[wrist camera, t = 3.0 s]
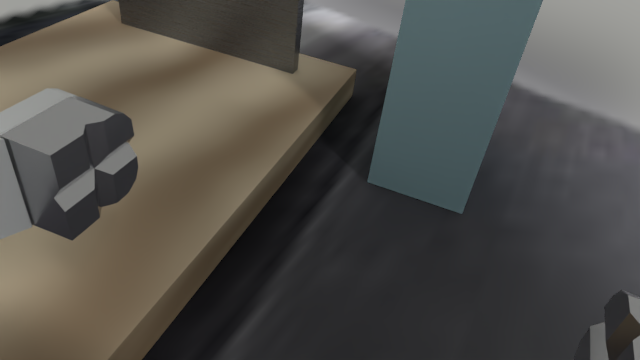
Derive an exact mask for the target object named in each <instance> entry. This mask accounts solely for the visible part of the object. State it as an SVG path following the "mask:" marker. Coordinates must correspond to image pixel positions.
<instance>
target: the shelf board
mask: <svg viewBox="0 0 640 360" xmlns="http://www.w3.org/2000/svg"><path fill="white" fill-rule="evenodd" d="M356 70H357V69H353V68H350V67H346V66H343V65H339V64H336V63H332V62H329V61H325V60H321V59H318V58H314V57H311V56H307V55H304V54H300V53H299V61H298V69H297V70H296V71H295V72H294V73H293V74H291V73H288V72H284V71H281V70H278V69H274V68H271V67H267V66H264V65H261V64H257V63H254V62H250V61H247V60H244V59H240V58H237V57H234V56H230V55H227V54H223V53H220V52H217V51H213V50H210V49H206V48H203V47H200V46H196V45H193V44H190V43H186V42H183V41H179V40H176V39H173V38H169V37H166V36H162V35H159V34H156V33H152V32H149V31H145V30H142V29H139V28H135V27H132V26H129V25H125V24H122V22H121V15H120V8H119V2H117V1H113V0H112V1H109V2H107V3H105V4H102V5H100V6H97V7H95V8H93V9H90V10H88V11H85V12H83V13H80V14H78V15H76V16H73V17H71V18H68V19H66V20H63V21H61V22H59V23H56V24H54V25H51V26H49V27H46V28H44V29H42V30H39V31H37V32H34V33H32V34H29V35H27V36H25V37H22V38H20V39H17V40H15V41H12V42H10V43H8V44H5V45H3V46H0V112H2V111H4V110H6V109H8V108H9V107H11V106H13V105H15V104H17V103H19V102H21V101H23V100H25V99H27V98H29V97H31V96H33V95H35V94H37V93H39V92H41V91H43V90H44V89H46V88H57V89H60V90H63V91H66V92H68V93H71V94H74V95H76V96H80V97H83V98H85V99H88V100H91V101H93V102H96V103H98V104H101V105H104V106H106V107H109V108H111V109H114V110H117V111H119V112H122V113H124V114H125V115H127V116H128V117H129V118H130V119H131V120H132V125H133V131H134V137H133V138H132V139H131V140H130V142H129V144H130V146H131V147H132V149H133V150H134V152H135V154H136V155H137V160H138V172H137V178H136V181H135V182H134V184H133V186H132V188H131V189H130V191H129V193H128V194H127V195H126V196H125V197H123V198H122V199H121V200H120V201H119V202H118V203H115V204H111V205H108V206H104V207H102V209H101V215H100V218H99V219H98V220H97V221H95V222H94V223H93V224H92V225H91V226H89V227H88V228H87V229H86V230H85V231H84V232H82V233H81V234H80V235H79V236H78V237H76V238H75V239H74V240H73V241H72V240H69V239H67V238H64V237H62V236H59V235H57V234H54V233H52V232H49V231H47V230H44V229H42V228H39V227H37V226H34V225H32V227H31V228H29V229H26V230H23V231H21V232H18V233H16V234H13V235H10V236H8V237H5V238H2V239H0V360H142V359H143V358H144V357H145V355H146V354H147V353H148V352H149V350H150V349H151V348H152V347H153V345H154V344H155V343H156V342H157V340H158V339H159V338H160V336H161V335H162V334H163V333H164V331H165V330H166V329H167V328H168V326H169V325H170V324H171V323H172V321H173V320H174V319H175V318H176V316H177V315H178V314H179V313H180V311H181V310H182V309H183V308H184V306H185V305H186V304H187V303H188V301H189V300H190V299H191V298H192V296H193V295H194V294H195V293H196V291H197V290H198V289H199V288H200V286H201V285H202V284H203V282H204V281H205V280H206V279H207V277H208V276H209V275H210V274H211V272H212V271H213V270H214V269H215V267H216V266H217V265H218V264H219V262H220V261H221V260H222V259H223V257H224V256H225V255H226V254H227V252H228V251H229V250H230V249H231V247H232V246H233V245H234V244H235V242H236V241H237V240H238V239H239V237H240V236H241V235H242V233H243V232H244V231H245V230H246V228H247V227H248V226H249V225H250V223H251V222H252V221H253V220H254V218H255V217H256V216H257V215H258V213H259V212H260V211H261V210H262V208H263V207H264V206H265V205H266V203H267V202H268V201H269V200H270V198H271V197H272V196H273V195H274V193H275V192H276V191H277V190H278V188H279V187H280V186H281V185H282V183H283V182H284V181H285V179H286V178H287V177H288V176H289V174H290V173H291V172H292V171H293V169H294V168H295V167H296V166H297V164H298V163H299V162H300V161H301V159H302V158H303V157H304V156H305V154H306V153H307V152H308V151H309V149H310V148H311V147H312V146H313V144H314V143H315V142H316V141H317V139H318V138H319V137H320V136H321V134H322V133H323V132H324V130H325V129H326V128H327V127H328V125H329V124H330V123H331V122H332V120H333V119H334V118H335V117H336V115H337V114H338V113H339V112H340V110H341V109H342V108H343V107H344V105H345V104H346V103H347V102H348V100H349V99H350V98H351V97H352V94H353V88H354V82H355V76H356Z"/></svg>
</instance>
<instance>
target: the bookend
mask: <svg viewBox="0 0 640 360" xmlns="http://www.w3.org/2000/svg"><path fill="white" fill-rule="evenodd" d="M303 4H304V0H119V8H120V15H121V22H122V24H125V25H129V26H132V27H135V28H139V29H142V30H145V31H149V32H152V33H156V34H159V35H162V36H166V37H169V38H173V39H176V40H179V41H183V42H186V43H190V44H193V45H196V46H200V47H203V48H206V49H210V50H213V51H217V52H220V53H223V54H227V55H230V56H234V57H237V58H240V59H244V60H247V61H250V62H254V63H257V64H261V65H264V66H267V67H271V68H274V69H278V70H281V71H284V72H288V73H291V74H293V73H294V72H295V71H296V70H297V69H298V61H299V50H300V38H301V27H302V16H303Z"/></svg>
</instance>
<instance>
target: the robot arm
mask: <svg viewBox="0 0 640 360" xmlns="http://www.w3.org/2000/svg"><path fill="white" fill-rule="evenodd" d="M133 137H134V131H133V125H132V120H131V119H130V118H129V117H128V116H127V115H125V114H124V113H122V112H119V111H117V110H114V109H111V108H109V107H106V106H104V105H101V104H98V103H96V102H93V101H91V100H88V99H85V98H83V97H80V96H76V95H74V94H71V93H68V92H66V91H63V90H60V89H57V88H46V89H44V90H43V91H41V92H39V93H37V94H35V95H33V96H31V97H29V98H27V99H25V100H23V101H21V102H19V103H17V104H15V105H13V106H11V107H9V108H8V109H6V110H4V111H2V112H0V239H2V238H5V237H8V236H10V235H13V234H16V233H18V232H21V231H23V230H26V229H29V228H31V227H32V225H34V226H37V227H39V228H42V229H44V230H47V231H49V232H52V233H54V234H57V235H59V236H62V237H64V238H67V239H69V240H72V241H73V240H74V239H75V238H76V237H78V236H79V235H80V234H81V233H82V232H84V231H85V230H86V229H87V228H88V227H89V226H91V225H92V224H93V223H94V222H95V221H97V220H98V219H99V218H100V215H101V209H102V207H104V206H108V205H111V204H115V203H118V202H119V201H120V200H121V199H122V198H123V197H125V196H126V195H127V194H128V193H129V191H130V189H131V188H132V186H133V184H134V182H135V181H136V178H137V172H138V160H137V155H136V154H135V152H134V150H133V149H132V147H131V146H130V144H129V142H130V140H131V139H132V138H133ZM604 309H605V322H603V323H599V324H596V325H592V326H590V327H589V329H588V330H587V332H586V333H585V335H584V336H583V338H582V339H581V341H580V343H579V346H578V349H577V351H576V354H575V356H574V360H640V296H637V295H634V294H631V293H628V292H626V291H623V290H620V291H619V292H618V293H616V294H615V295H613V296H612V298H611V299H610V300H609V302H608V303H607V304H606V306H605V307H604Z"/></svg>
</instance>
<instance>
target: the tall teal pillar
mask: <svg viewBox="0 0 640 360" xmlns="http://www.w3.org/2000/svg"><path fill="white" fill-rule="evenodd" d="M542 1H543V0H406V2H405V7H404V11H403V16H402V20H401V25H400V30H399V35H398V39H397V44H396V49H395V53H394V58H393V63H392V68H391V72H390V77H389V82H388V86H387V91H386V96H385V101H384V105H383V110H382V115H381V119H380V124H379V129H378V134H377V138H376V143H375V148H374V152H373V157H372V162H371V167H370V171H369V176H368V181H367V182H368V183H371V184H374V185H377V186H380V187H383V188H386V189H389V190H392V191H395V192H398V193H401V194H404V195H407V196H410V197H413V198H416V199H419V200H422V201H425V202H428V203H431V204H433V205H436V206H439V207H442V208H445V209H448V210H451V211H454V212H457V213H460V214H462V213H463V210H464V208H465V205H466V202H467V200H468V197H469V194H470V192H471V189H472V186H473V184H474V181H475V179H476V176H477V173H478V171H479V168H480V165H481V163H482V160H483V157H484V155H485V152H486V149H487V147H488V144H489V141H490V139H491V136H492V134H493V131H494V128H495V126H496V123H497V120H498V118H499V115H500V112H501V110H502V107H503V104H504V102H505V99H506V97H507V94H508V91H509V89H510V86H511V83H512V81H513V78H514V75H515V73H516V70H517V67H518V65H519V62H520V59H521V57H522V54H523V51H524V49H525V46H526V44H527V41H528V38H529V36H530V33H531V30H532V28H533V25H534V22H535V20H536V17H537V15H538V12H539V9H540V7H541V4H542Z"/></svg>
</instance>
